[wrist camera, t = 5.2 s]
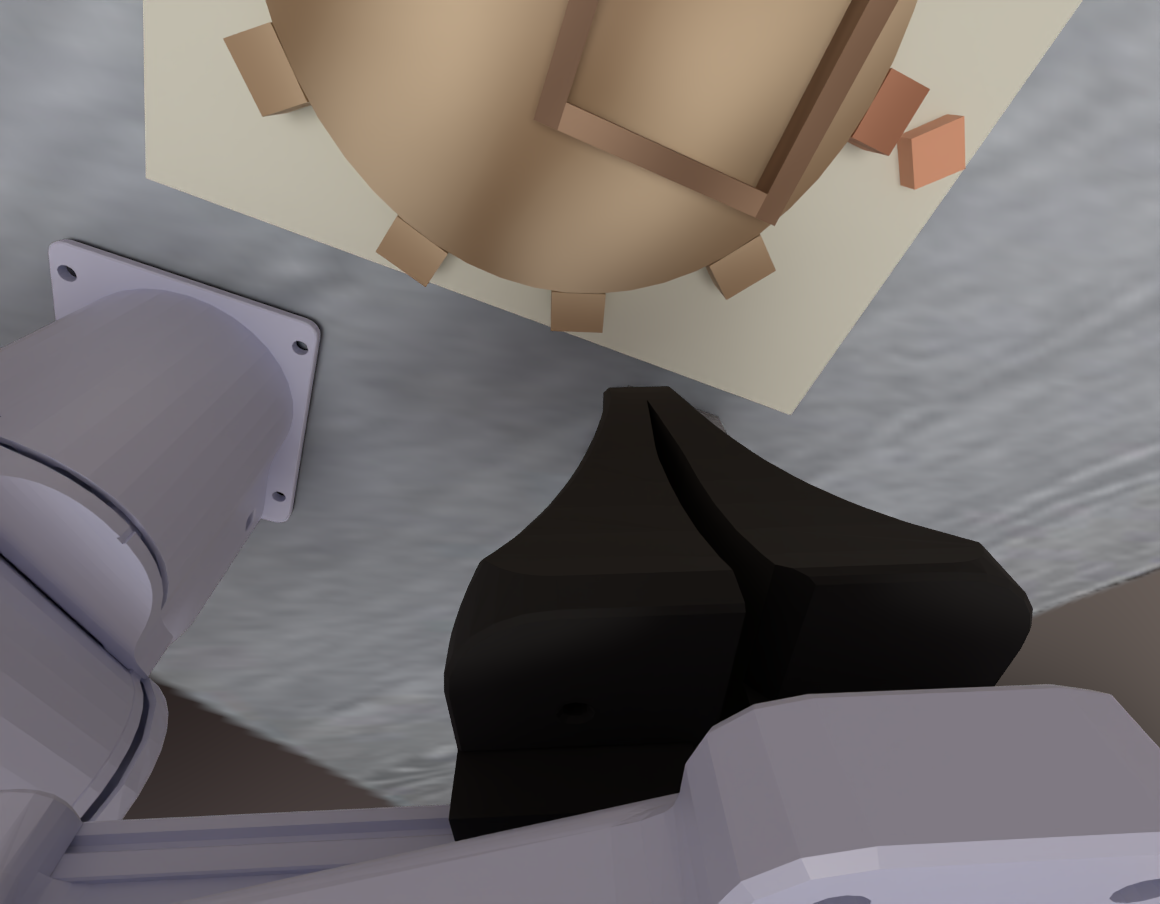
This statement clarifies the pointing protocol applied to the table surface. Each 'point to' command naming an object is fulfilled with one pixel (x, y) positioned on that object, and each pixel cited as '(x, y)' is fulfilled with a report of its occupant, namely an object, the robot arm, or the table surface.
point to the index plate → (655, 313)
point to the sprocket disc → (587, 126)
